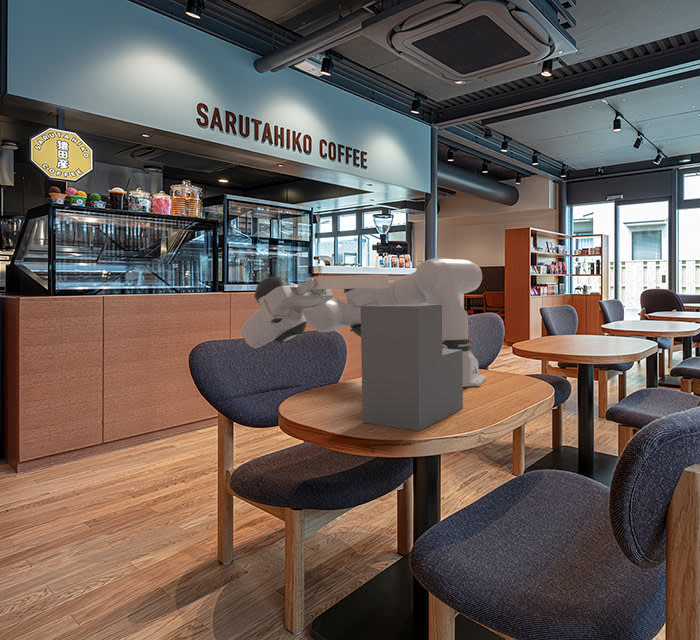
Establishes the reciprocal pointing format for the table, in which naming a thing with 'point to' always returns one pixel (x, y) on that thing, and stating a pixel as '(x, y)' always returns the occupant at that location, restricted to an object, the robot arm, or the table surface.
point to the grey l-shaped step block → (408, 367)
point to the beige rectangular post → (351, 281)
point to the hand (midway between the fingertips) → (321, 281)
